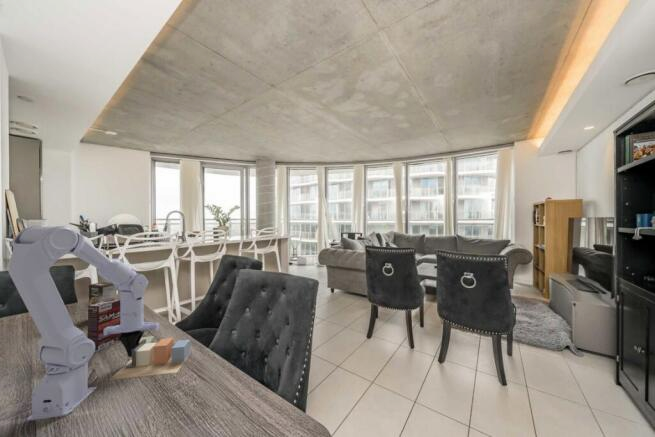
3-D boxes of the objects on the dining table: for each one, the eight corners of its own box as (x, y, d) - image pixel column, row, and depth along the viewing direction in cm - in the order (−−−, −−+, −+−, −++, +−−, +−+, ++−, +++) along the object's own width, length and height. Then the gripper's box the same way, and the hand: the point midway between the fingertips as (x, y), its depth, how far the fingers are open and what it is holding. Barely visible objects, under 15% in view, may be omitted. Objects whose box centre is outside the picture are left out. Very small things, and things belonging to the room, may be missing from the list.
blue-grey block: (184, 361, 78) (184, 346, 78) (171, 362, 77) (171, 348, 77) (189, 352, 83) (189, 339, 83) (178, 354, 82) (178, 340, 82)
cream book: (149, 364, 76) (149, 350, 76) (136, 366, 75) (136, 351, 75) (157, 356, 81) (157, 342, 81) (144, 357, 80) (144, 343, 80)
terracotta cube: (166, 363, 77) (166, 345, 77) (153, 364, 76) (153, 346, 76) (173, 354, 82) (173, 337, 82) (161, 355, 81) (161, 339, 81)
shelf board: (177, 374, 72) (177, 372, 72) (108, 382, 69) (108, 380, 69) (191, 353, 84) (191, 351, 84) (133, 358, 81) (133, 357, 81)
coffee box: (87, 319, 114) (88, 284, 114) (104, 314, 120) (104, 281, 121) (101, 321, 112) (101, 286, 112) (117, 316, 118) (117, 282, 118)
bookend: (134, 367, 75) (134, 349, 75) (126, 368, 74) (126, 349, 74) (146, 356, 81) (146, 339, 81) (138, 356, 81) (138, 339, 81)
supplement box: (97, 353, 84) (97, 306, 85) (86, 352, 85) (86, 305, 86) (123, 341, 93) (123, 298, 93) (112, 340, 94) (112, 298, 94)
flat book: (148, 348, 88) (148, 343, 89) (133, 350, 87) (133, 345, 87) (154, 340, 94) (154, 335, 94) (140, 342, 93) (140, 337, 93)
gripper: (163, 305, 83) (163, 346, 83) (114, 309, 80) (114, 351, 80) (153, 313, 76) (153, 357, 76) (98, 317, 73) (98, 363, 73)
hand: (132, 355), depth 78 cm, fingers closed
